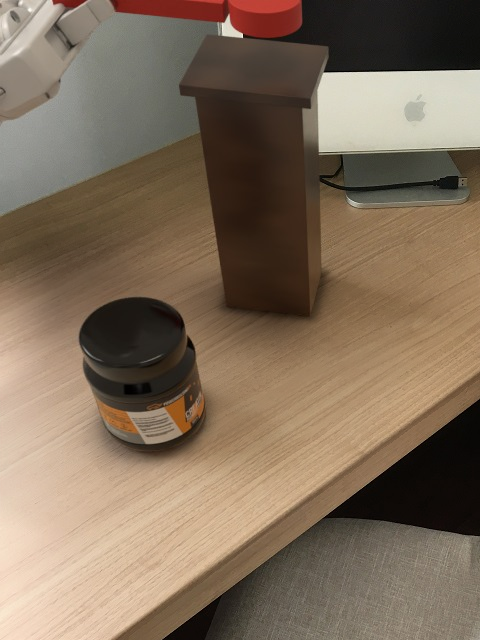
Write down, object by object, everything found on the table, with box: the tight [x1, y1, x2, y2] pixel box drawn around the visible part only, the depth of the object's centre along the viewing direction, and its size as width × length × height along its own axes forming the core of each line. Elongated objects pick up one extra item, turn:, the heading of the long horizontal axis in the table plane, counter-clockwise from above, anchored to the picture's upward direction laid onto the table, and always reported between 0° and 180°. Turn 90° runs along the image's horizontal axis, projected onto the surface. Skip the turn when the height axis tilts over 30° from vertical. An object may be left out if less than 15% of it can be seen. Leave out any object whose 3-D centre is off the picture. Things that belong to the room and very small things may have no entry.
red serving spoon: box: [52, 0, 303, 39], centre depth 69 cm, size 22×6×2 cm, turn 84°
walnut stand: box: [178, 33, 330, 317], centre depth 83 cm, size 12×10×26 cm
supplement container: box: [78, 296, 207, 452], centre depth 77 cm, size 10×10×12 cm
